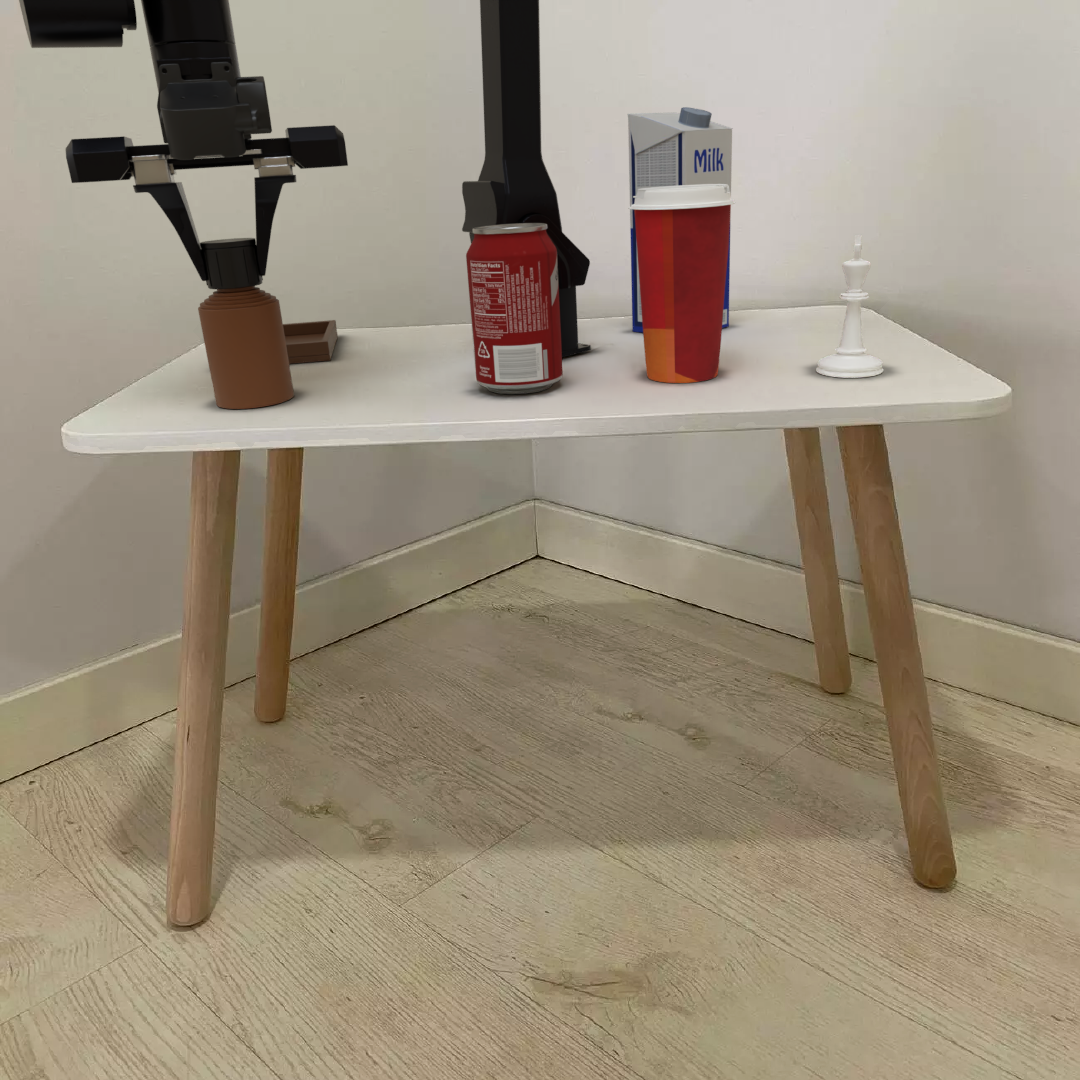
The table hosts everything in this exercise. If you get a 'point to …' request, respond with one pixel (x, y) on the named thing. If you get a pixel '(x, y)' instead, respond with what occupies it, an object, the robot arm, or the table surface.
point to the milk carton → (675, 169)
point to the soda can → (514, 308)
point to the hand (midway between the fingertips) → (233, 278)
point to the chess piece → (852, 327)
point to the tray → (310, 341)
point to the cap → (231, 263)
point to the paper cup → (682, 278)
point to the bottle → (246, 348)
